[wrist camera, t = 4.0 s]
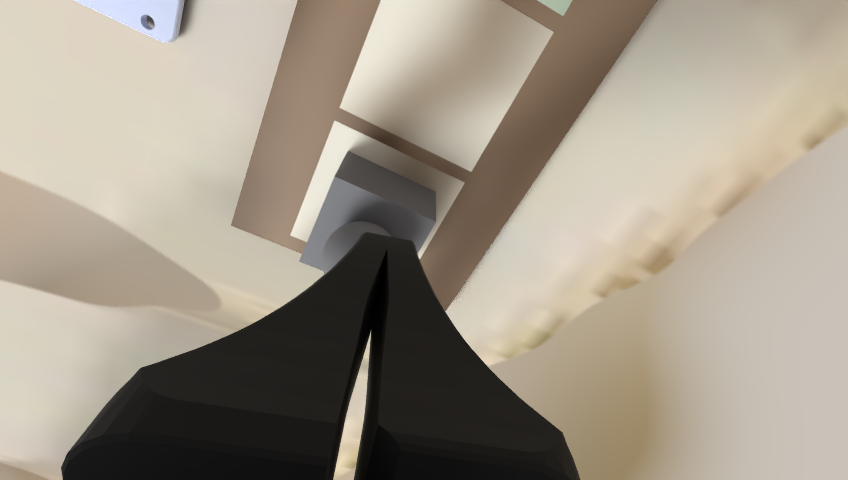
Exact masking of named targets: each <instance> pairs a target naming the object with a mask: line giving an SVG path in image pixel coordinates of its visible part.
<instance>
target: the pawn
mask: <svg viewBox="0 0 848 480" xmlns="http://www.w3.org/2000/svg"><path fill="white" fill-rule="evenodd" d="M435 223H436V192H435V191H433V190H431V189H429V188H427V187H425V186H423V185H420V184H418V183H416V182H414V181H412V180H410V179H408V178H405V177H403V176H401V175H399V174H397V173H395V172H393V171H390V170H388V169H386V168H384V167H382V166H380V165H378V164H375V163H373V162H371V161H369V160H367V159H365V158H363V157H360V156H358V155H356V154H354V153H352V152H350V151H347V153H346V155H345V157H344V159H343V161H342V163H341V165H340V167H339V168H338V170H337V172H336V174H335V176H334V178H333V181H332V183H331V186H330V188H329V191H328V193H327V195H326V198H325V200H324V203H323V205H322V207H321V210H320V212H319V215H318V217H317V220H316V222H315V224H314V227H313V229H312V232H311V234H310V236H309V239H308V241H307V244H306V246H305V249H304V251H303V253H302V256H301V258H300V262H302V263H305V264H307V265H310V266H312V267H315V268H317V269H320V270H322V271H324V274H326V273H327V272H328V271H329V270H330V269H331V268H333V267H334V266H335V265H336V264H337V263H338V262H339V261H340V260H341V259H342V258H343V257H344V256H345V255H346V254H347V252H348V251H349V250H350V249H351V248H352V247H353V246H354V245H355V243H356V242H357V241H358V239H359V238H360V236H361V235H362V234H364V233H366V232H369V233H374V234H379V235H385V236H390V237H395V238H400V239H406V240H411V241H413V243H414V244H415V247H416V250H417V254H418V252H419V251H420V249H421V247H422V246H423V244H424V242H425V240H426V239H427V237H428V235H429V234H430V232H431V230H432V228H433V227H434V225H435Z"/></svg>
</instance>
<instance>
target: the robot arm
mask: <svg viewBox="0 0 848 480" xmlns="http://www.w3.org/2000/svg"><path fill="white" fill-rule="evenodd" d="M74 1H76V2H78V3H80V4H82V5H85V6H87V7H89V8H91V9H93V10H95V11H97V12H99V13H101V14H103V15H105V16H108V17H110V18H112V19H114V20H116V21H118V22H120V23H122V24H124V25H126V26H129V27H131V28H133V29H135V30H137V31H139V32H141V33H143V34H145V35H147V36H150V37H152V38H154V39H156V40H158V41H160V42H164V43H167V42H172V41H174V40H176V39H177V37H178V35H179V30H180V24H181V18H182V13H183V7H184V1H185V0H74ZM148 15H149V16H150V17H151V18H152V19H153V20H154V23H155V27H154V29H152V28H151V27H150V26H149V25H148V23H147V19H146V18H147V16H148ZM370 332H371V341H370V355H369V368H368V382H367V395H366V407H365V415H364V423H363V429H362V435H361V441H360V447H359V452H358V458H357V464H356V470H355V476H354V480H580V478H579V474H578V471H577V468H576V466H575V463H574V460H573V457H572V455H571V453H570V450H569V448H568V446H567V443H566V441H565V438H564V435H563V433H562V432H561V431H560V430H559V429H557V428H556V427H555V426H554V425H552V424H551V423H550V422H549V421H547V420H546V419H545V418H544V417H542V416H541V415H540V414H539V413H537V412H536V411H535V410H534V409H533V408H531V407H530V406H529V405H528V404H526V403H525V402H524V401H523V400H522V399H520V398H519V397H518V396H517V395H516V394H515V393H514V392H513V391H512V390H511V389H510V388H509V387H508V386H506V385H505V384H504V383H503V382H502V381H501V380H500V379H499V378H498V377H497V376H496V375H495V374H494V373H493V372H492V371H491V370H490V369H489V368H488V367H487V365H486V364H485V363H484V362H483V361H482V360H481V359H480V358H479V357H478V355H477V354H476V353H475V352H474V351H473V350H472V349H471V347H470V346H469V345H468V344H467V343H466V341H465V340H464V339H463V337H462V336H461V335H460V333H459V332H458V330H457V329H456V328H455V326H454V325H453V323H452V322H451V320H450V319H449V317H448V315H447V314H446V312H445V311H444V309H443V307H442V305H441V304H440V302H439V300H438V298H437V297H436V295H435V293H434V291H433V289H432V287H431V285H430V283H429V281H428V278H427V276H426V274H425V272H424V270H423V267H422V264H421V262H420V259H419V257H418V254H417V250H416V247H415V244H414V243H413V241H411V240H406V239H400V238H395V237H390V236H385V235H379V234H374V233H369V232H366V233H364V234H362V235H361V236H360V238H359V239H358V241H357V242H356V243H355V245H354V246H353V247H352V248H351V249H350V250H349V251H348V252H347V254H346V255H345V256H344V257H343V258H342V259H341V260H340V261H339V262H338V263H337V264H336V265H335V266H334V267H333V268H331V269H330V270H329V271H328V272H327V273H326V274H325V275H323V276H322V277H321V278H320V279H319V280H318V281H316V282H315V283H314V284H313V285H312V286H310V287H309V288H308V289H306V290H305V291H304V292H302V293H301V294H300V295H298V296H297V297H296V298H294V299H293V300H291V301H290V302H288V303H287V304H285V305H284V306H282V307H281V308H279V309H277V310H276V311H274V312H272V313H270V314H269V315H267V316H265V317H264V318H262V319H260V320H259V321H257V322H255V323H253V324H251V325H249V326H247V327H245V328H243V329H241V330H239V331H237V332H235V333H233V334H230V335H228V336H226V337H224V338H221V339H219V340H217V341H214V342H212V343H210V344H207V345H205V346H202V347H200V348H197V349H195V350H192V351H189V352H186V353H183V354H180V355H178V356H175V357H172V358H169V359H166V360H163V361H161V362H158V363H155V364H152V365H149V366H145V367H142V368H140V369H139V370H138V371H137V372H136V374H135V375H134V376H133V377H132V378H131V379H130V380H129V381H128V382H127V383H126V384H125V385H124V386H123V387H122V388H121V389H120V390H119V391H118V392H117V393H116V394H115V395H114V396H113V397H112V399H111V400H110V401H109V402H108V403H107V404H106V405H105V407H104V408H103V409H102V410H101V412H100V413H99V414H98V415H97V417H96V418H95V419H94V420H93V422H92V423H91V424H90V425H89V427H88V428H87V429H86V431H85V432H84V433H83V434H82V436H81V437H80V438H79V439H78V441H77V442H76V443H75V444H74V446H73V447H72V448H71V449H70V451H69V452H68V453H67V455H66V457H65V460H64V462H63V465H62V467H61V470H62V476H63V480H333V477H334V472H335V467H336V462H337V457H338V452H339V447H340V443H341V438H342V433H343V428H344V423H345V418H346V414H347V410H348V406H349V402H350V399H351V395H352V392H353V389H354V385H355V382H356V379H357V375H358V372H359V369H360V365H361V362H362V359H363V355H364V352H365V349H366V345H367V342H368V339H369V335H370Z"/></svg>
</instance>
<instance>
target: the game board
mask: <svg viewBox="0 0 848 480" xmlns="http://www.w3.org/2000/svg"><path fill="white" fill-rule="evenodd" d="M656 1H657V0H298V1H297V5H296V8H295V11H294V15H293V18H292V22H291V25H290V28H289V32H288V35H287V38H286V42H285V45H284V49H283V52H282V55H281V59H280V62H279V65H278V69H277V72H276V75H275V79H274V82H273V86H272V89H271V92H270V96H269V99H268V102H267V106H266V109H265V113H264V116H263V119H262V123H261V126H260V129H259V133H258V136H257V140H256V143H255V146H254V150H253V153H252V156H251V160H250V163H249V167H248V170H247V173H246V177H245V180H244V183H243V187H242V190H241V193H240V197H239V200H238V204H237V207H236V210H235V214H234V217H233V220H232V224H231V226H234V227H236V228H239V229H241V230H244V231H246V232H249V233H251V234H254V235H256V236H259V237H261V238H264V239H266V240H269V241H271V242H274V243H276V244H279V245H281V246H284V247H286V248H289V249H291V250H294V251H296V252H299V253H301V254H302V253H303V251H304V249H305V246H306V244H307V241H308V239H309V236H310V234H311V232H312V229H313V227H314V224H315V222H316V220H317V217H318V215H319V212H320V210H321V207H322V205H323V203H324V200H325V198H326V195H327V193H328V191H329V188H330V186H331V183H332V181H333V178H334V176H335V174H336V172H337V170H338V168H339V167H340V165H341V163H342V161H343V159H344V157H345V155H346V153H347V151H350V152H352V153H354V154H356V155H358V156H360V157H363V158H365V159H367V160H369V161H371V162H373V163H375V164H378V165H380V166H382V167H384V168H386V169H388V170H390V171H393V172H395V173H397V174H399V175H401V176H403V177H405V178H408V179H410V180H412V181H414V182H416V183H418V184H420V185H423V186H425V187H427V188H429V189H431V190H433V191H435V192H436V223H435V225H434V227H433V228H432V230H431V232H430V234H429V235H428V237H427V239H426V240H425V242H424V244H423V246H422V247H421V249H420V251H419V252H418V257H419V259H420V262H421V264H422V267H423V270H424V272H425V274H426V276H427V278H428V281H429V283H430V285H431V287H432V289H433V291H434V293H435V295H436V297H437V298H438V300H439V302H440V304H441V305H442V307H443V309H444V311H446V310H447V308H448V307H449V305H450V304H451V302H452V301H453V299H454V298H455V297H456V295H457V294H458V292H459V291H460V289H461V288H462V286H463V285H464V283H465V282H466V280H467V279H468V277H469V276H470V275H471V273H472V272H473V270H474V269H475V267H476V266H477V264H478V263H479V261H480V260H481V258H482V257H483V255H484V254H485V252H486V251H487V250H488V248H489V247H490V245H491V244H492V242H493V241H494V239H495V238H496V236H497V235H498V233H499V232H500V230H501V229H502V227H503V226H504V225H505V223H506V222H507V220H508V219H509V217H510V216H511V214H512V213H513V211H514V210H515V208H516V207H517V205H518V204H519V203H520V201H521V200H522V198H523V197H524V195H525V194H526V192H527V191H528V189H529V188H530V186H531V185H532V183H533V182H534V180H535V179H536V178H537V176H538V175H539V173H540V172H541V170H542V169H543V167H544V166H545V164H546V163H547V161H548V160H549V158H550V157H551V155H552V154H553V153H554V151H555V150H556V148H557V147H558V145H559V144H560V142H561V141H562V139H563V138H564V136H565V135H566V133H567V132H568V131H569V129H570V128H571V126H572V125H573V123H574V122H575V120H576V119H577V117H578V116H579V114H580V113H581V111H582V110H583V108H584V107H585V106H586V104H587V103H588V101H589V100H590V98H591V97H592V95H593V94H594V92H595V91H596V89H597V88H598V86H599V85H600V84H601V82H602V81H603V79H604V78H605V76H606V75H607V73H608V72H609V70H610V69H611V67H612V66H613V64H614V63H615V61H616V60H617V59H618V57H619V56H620V54H621V53H622V51H623V50H624V48H625V47H626V45H627V44H628V42H629V41H630V39H631V38H632V36H633V35H634V34H635V32H636V31H637V29H638V28H639V26H640V25H641V23H642V22H643V20H644V19H645V17H646V16H647V14H648V13H649V12H650V10H651V9H652V7H653V6H654V4H655V3H656Z"/></svg>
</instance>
